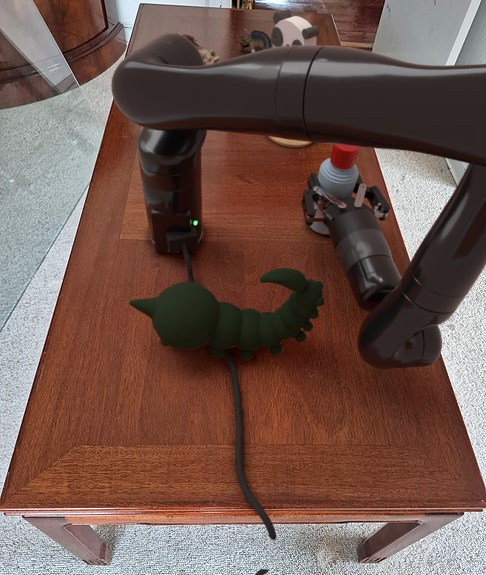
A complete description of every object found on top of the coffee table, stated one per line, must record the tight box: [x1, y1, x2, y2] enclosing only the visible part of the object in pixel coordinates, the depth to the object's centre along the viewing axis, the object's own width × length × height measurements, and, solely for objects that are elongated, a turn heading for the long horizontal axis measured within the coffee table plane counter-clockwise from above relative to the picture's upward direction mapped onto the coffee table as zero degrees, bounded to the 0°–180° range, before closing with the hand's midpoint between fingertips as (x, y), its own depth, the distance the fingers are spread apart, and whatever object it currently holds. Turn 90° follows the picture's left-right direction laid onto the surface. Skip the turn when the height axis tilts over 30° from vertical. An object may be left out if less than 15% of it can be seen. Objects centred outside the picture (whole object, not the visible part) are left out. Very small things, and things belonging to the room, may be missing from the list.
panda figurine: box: [270, 8, 320, 48], centre depth 107 cm, size 12×11×15 cm
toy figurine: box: [128, 267, 326, 361], centre depth 62 cm, size 9×19×25 cm
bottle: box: [309, 157, 360, 235], centre depth 79 cm, size 6×6×17 cm
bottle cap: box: [329, 144, 360, 170], centre depth 73 cm, size 4×4×4 cm
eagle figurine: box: [236, 28, 273, 53], centre depth 118 cm, size 8×7×9 cm
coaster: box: [267, 136, 314, 148], centre depth 102 cm, size 12×12×1 cm
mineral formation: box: [179, 32, 221, 65], centre depth 108 cm, size 23×16×10 cm
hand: (331, 175), depth 79 cm, fingers closed on bottle, 6 cm apart
